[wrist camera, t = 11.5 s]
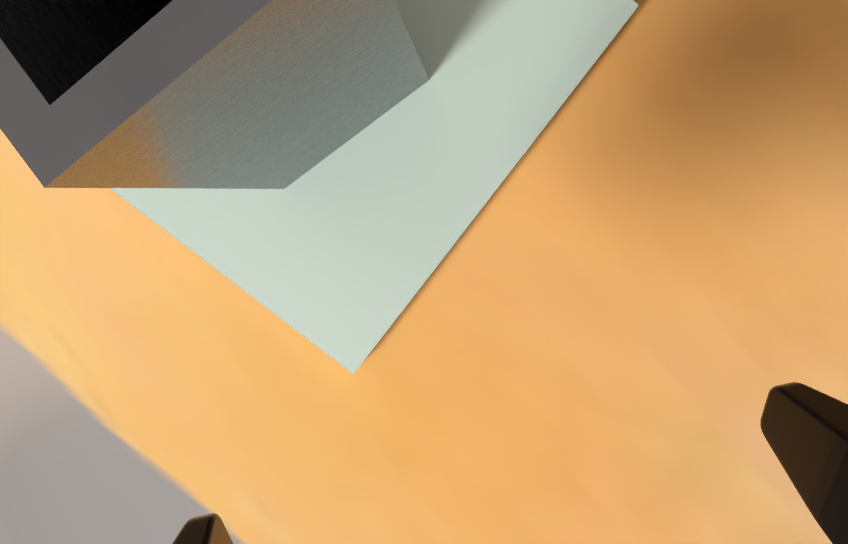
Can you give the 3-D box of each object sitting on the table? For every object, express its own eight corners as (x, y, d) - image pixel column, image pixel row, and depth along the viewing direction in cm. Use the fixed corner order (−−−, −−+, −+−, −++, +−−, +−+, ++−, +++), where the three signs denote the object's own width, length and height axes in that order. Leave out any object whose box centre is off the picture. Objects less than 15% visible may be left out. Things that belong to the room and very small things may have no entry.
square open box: (429, 80, 17) (361, -75, 7) (284, 188, 18) (44, 187, 8) (319, -81, 17) (86, -478, 7) (177, 38, 17) (-213, -157, 8)
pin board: (630, 15, 17) (691, -56, 12) (359, 365, 19) (319, 424, 15) (260, -273, 17) (170, -463, 12) (33, 115, 19) (-120, 89, 14)
